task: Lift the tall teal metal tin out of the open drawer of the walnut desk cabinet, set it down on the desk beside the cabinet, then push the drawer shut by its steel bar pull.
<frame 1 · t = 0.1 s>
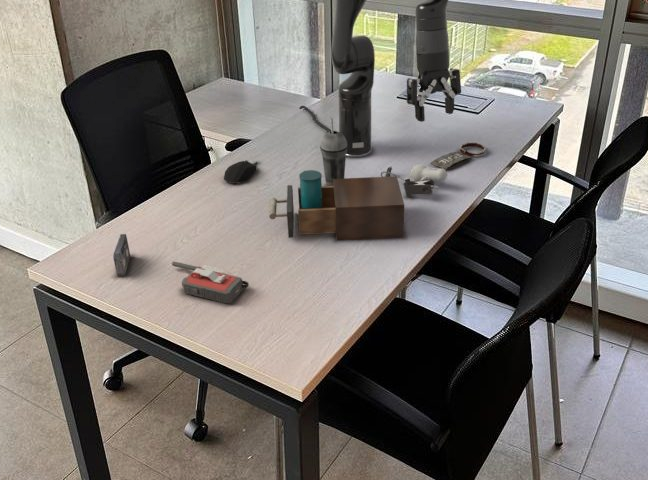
hand: (435, 117, 175), 22 cm above the table, tool pointing down, fingers open, 8 cm apart
beverage cup: (334, 187, 195), on the table
walkie-talkie: (203, 286, 157), on the table
mini dv tape: (124, 266, 164), on the table
keychain: (459, 158, 208), on the table
tin: (312, 218, 176), point 2 cm above the table, touching drawer
cabinet: (367, 223, 178), on the table
gaming mouse: (243, 174, 203), on the table
clip-on lamp: (410, 187, 194), on the table
drawer: (309, 210, 175), point 4 cm above the table, slide at 10.0 cm, touching tin
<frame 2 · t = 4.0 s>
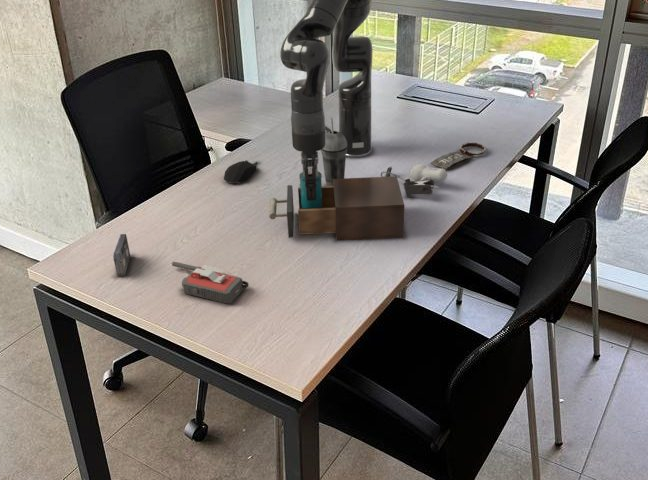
hand: (311, 193, 173), 9 cm above the table, tool pointing down, fingers closed on tin, 5 cm apart
tin: (312, 218, 176), point 2 cm above the table, touching drawer, gripper
everything else where it was.
when the fingers open (7 cm above the table, at t = 13.1 s): tin stays where it is, on the table.
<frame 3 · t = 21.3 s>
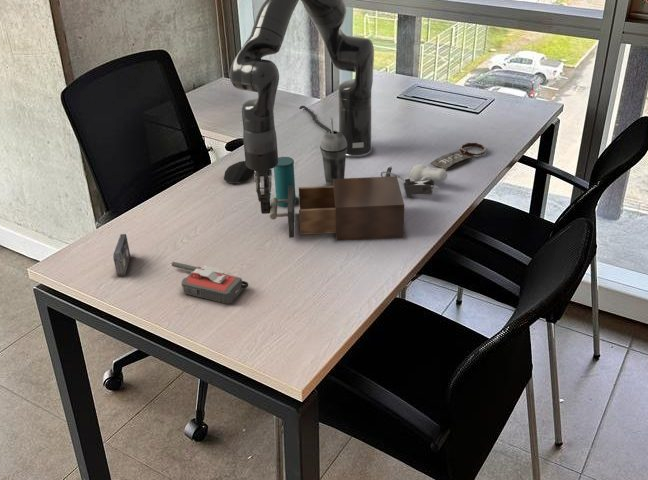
hand: (266, 212, 175), 4 cm above the table, tool pointing down, fingers closed
tin: (286, 202, 188), on the table
drawer: (310, 210, 175), point 4 cm above the table, slide at 9.8 cm, touching gripper
everything else where it was.
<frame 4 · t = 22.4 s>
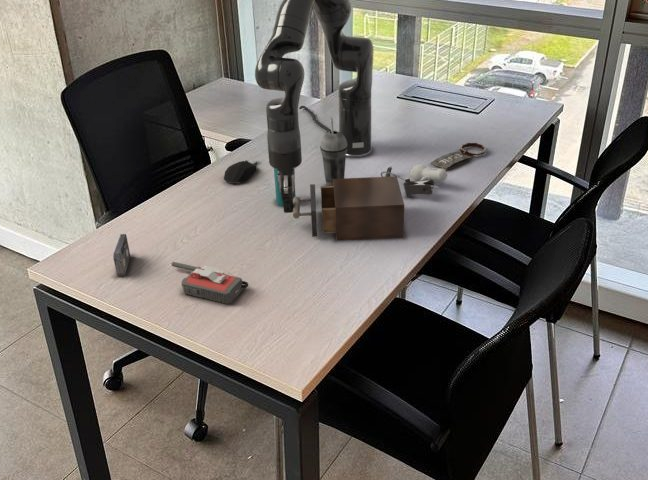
hand: (288, 211, 175), 4 cm above the table, tool pointing down, fingers closed
drawer: (332, 209, 175), point 4 cm above the table, slide at 4.4 cm, touching gripper
everything else where it was.
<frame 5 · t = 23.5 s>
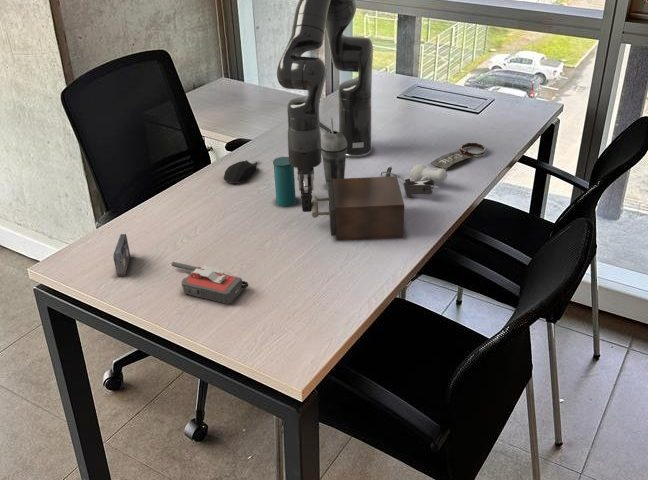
hand: (307, 210, 175), 4 cm above the table, tool pointing down, fingers closed
drawer: (350, 208, 175), point 4 cm above the table, slide at 0.0 cm, touching cabinet, gripper
everything else where it was.
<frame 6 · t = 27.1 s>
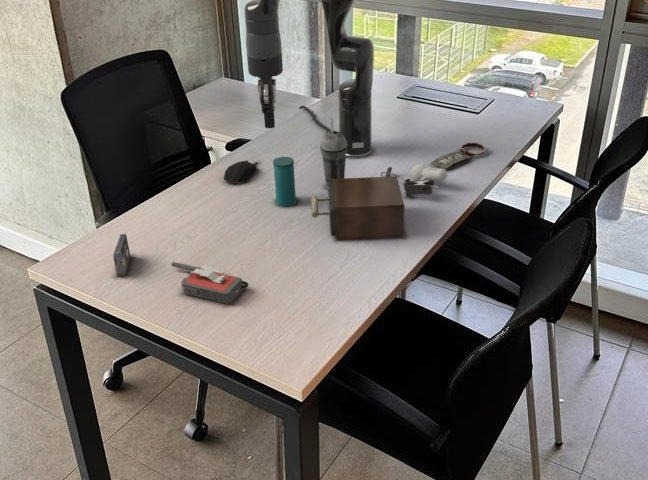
hand: (270, 126, 166), 25 cm above the table, tool pointing down, fingers closed
drawer: (350, 208, 175), point 4 cm above the table, slide at 0.0 cm, touching cabinet
everything else where it was.
at the end: tin inside the target area (0.1 cm from its centre), on the table; tin tilted 0°; drawer slide at 0.0 cm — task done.
